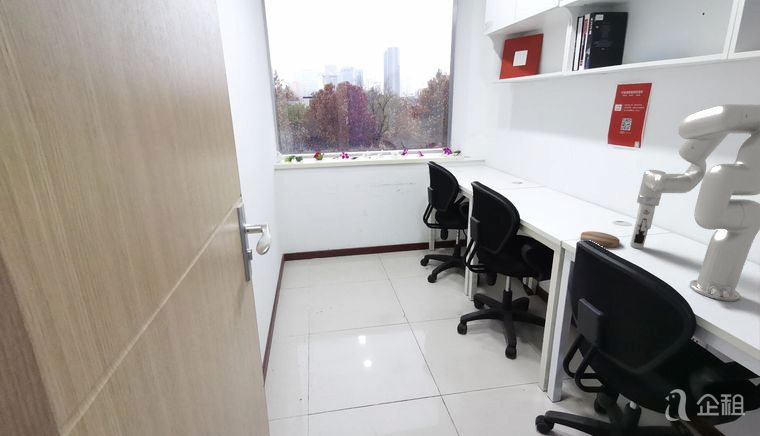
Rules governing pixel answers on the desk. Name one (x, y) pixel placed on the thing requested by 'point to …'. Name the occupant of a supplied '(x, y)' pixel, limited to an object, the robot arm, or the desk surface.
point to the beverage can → (634, 245)
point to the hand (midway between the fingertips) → (638, 240)
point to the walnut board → (601, 239)
